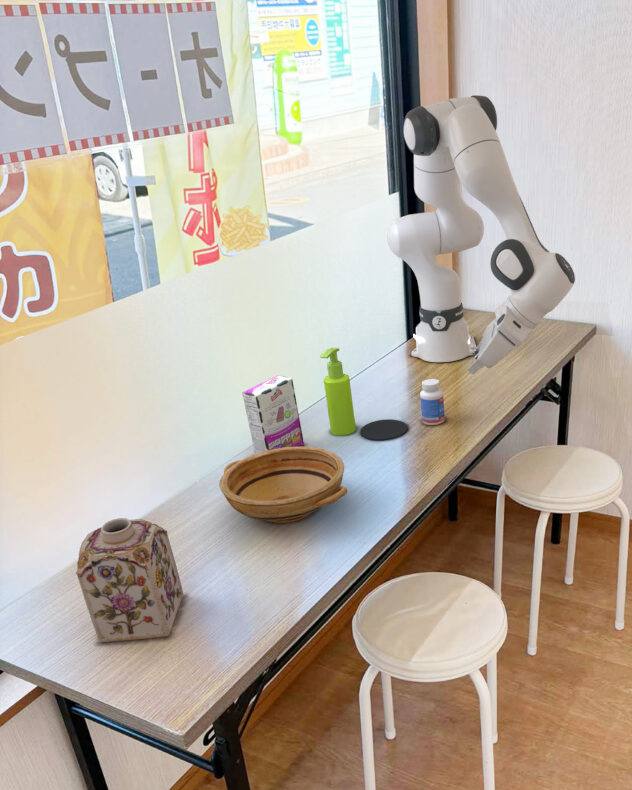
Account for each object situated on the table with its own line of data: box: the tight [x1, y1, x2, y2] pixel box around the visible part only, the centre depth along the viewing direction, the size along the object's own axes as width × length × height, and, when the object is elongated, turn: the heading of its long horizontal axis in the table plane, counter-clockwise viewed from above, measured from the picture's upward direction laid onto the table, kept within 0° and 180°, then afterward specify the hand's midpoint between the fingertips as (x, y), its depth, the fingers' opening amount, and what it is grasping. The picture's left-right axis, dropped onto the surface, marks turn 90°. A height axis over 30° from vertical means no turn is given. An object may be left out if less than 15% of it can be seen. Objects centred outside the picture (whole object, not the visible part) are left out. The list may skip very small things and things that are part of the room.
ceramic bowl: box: [219, 446, 348, 524], centre depth 167 cm, size 30×24×8 cm
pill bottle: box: [419, 378, 446, 426], centre depth 198 cm, size 6×5×10 cm
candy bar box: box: [241, 375, 305, 454], centre depth 189 cm, size 11×5×16 cm, turn 143°
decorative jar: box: [75, 517, 184, 644], centre depth 136 cm, size 12×12×18 cm
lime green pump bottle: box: [319, 346, 357, 437], centre depth 195 cm, size 6×7×20 cm
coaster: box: [359, 419, 408, 442], centre depth 198 cm, size 11×11×1 cm
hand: (472, 363), depth 192 cm, fingers open, 8 cm apart
